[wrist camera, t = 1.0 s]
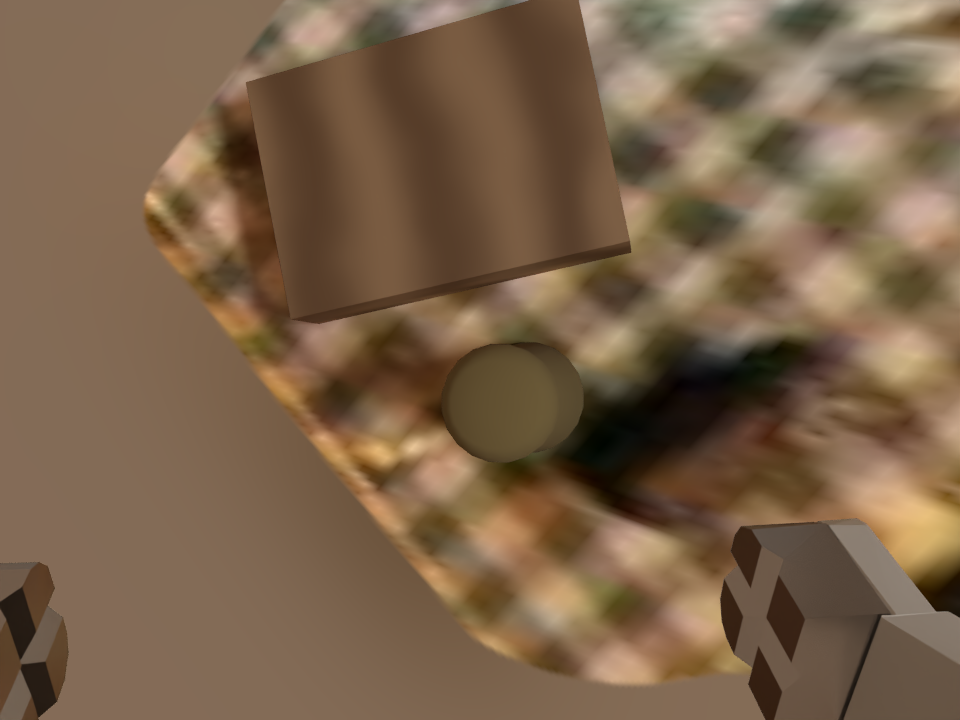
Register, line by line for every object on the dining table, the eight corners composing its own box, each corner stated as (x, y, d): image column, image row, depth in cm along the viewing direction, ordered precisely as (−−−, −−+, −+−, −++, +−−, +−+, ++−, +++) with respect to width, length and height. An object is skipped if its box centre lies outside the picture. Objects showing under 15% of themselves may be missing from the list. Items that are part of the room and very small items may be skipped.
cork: (452, 396, 48) (394, 402, 37) (529, 319, 47) (494, 302, 36) (527, 475, 47) (491, 506, 36) (607, 398, 46) (595, 406, 35)
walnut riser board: (581, 19, 46) (575, -13, 43) (631, 252, 46) (629, 240, 42) (277, 105, 50) (245, 82, 46) (319, 323, 49) (290, 319, 45)
